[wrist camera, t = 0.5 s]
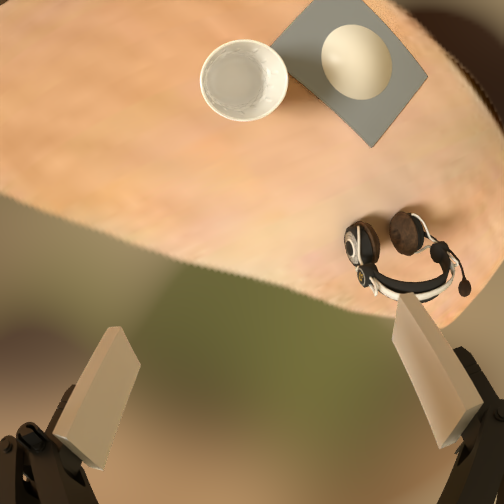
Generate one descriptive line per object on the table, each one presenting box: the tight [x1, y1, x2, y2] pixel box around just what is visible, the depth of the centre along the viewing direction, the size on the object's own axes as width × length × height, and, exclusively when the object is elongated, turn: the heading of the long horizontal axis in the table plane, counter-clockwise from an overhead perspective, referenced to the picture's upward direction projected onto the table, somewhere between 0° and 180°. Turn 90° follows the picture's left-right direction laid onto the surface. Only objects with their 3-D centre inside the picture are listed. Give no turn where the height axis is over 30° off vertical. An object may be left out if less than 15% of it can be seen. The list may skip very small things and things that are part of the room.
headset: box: [344, 212, 471, 303], centre depth 39 cm, size 17×8×20 cm, turn 99°
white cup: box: [200, 39, 288, 121], centre depth 27 cm, size 8×8×10 cm
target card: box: [270, 0, 428, 148], centre depth 31 cm, size 20×16×1 cm
